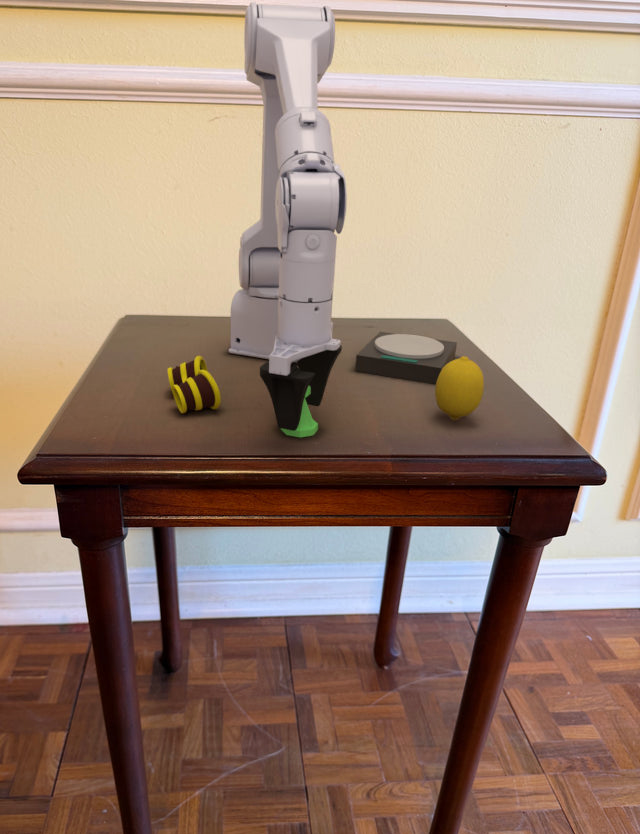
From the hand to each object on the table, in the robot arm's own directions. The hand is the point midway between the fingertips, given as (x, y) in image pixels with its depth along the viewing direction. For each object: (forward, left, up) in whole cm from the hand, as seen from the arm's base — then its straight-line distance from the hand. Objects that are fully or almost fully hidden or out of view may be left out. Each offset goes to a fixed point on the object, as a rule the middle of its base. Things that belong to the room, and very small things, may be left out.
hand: (299, 415), depth 78 cm
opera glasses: (-15, +2, -2) cm, 15 cm away
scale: (+6, +28, -2) cm, 29 cm away
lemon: (+16, +11, -2) cm, 20 cm away
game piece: (0, 0, -2) cm, 2 cm away
